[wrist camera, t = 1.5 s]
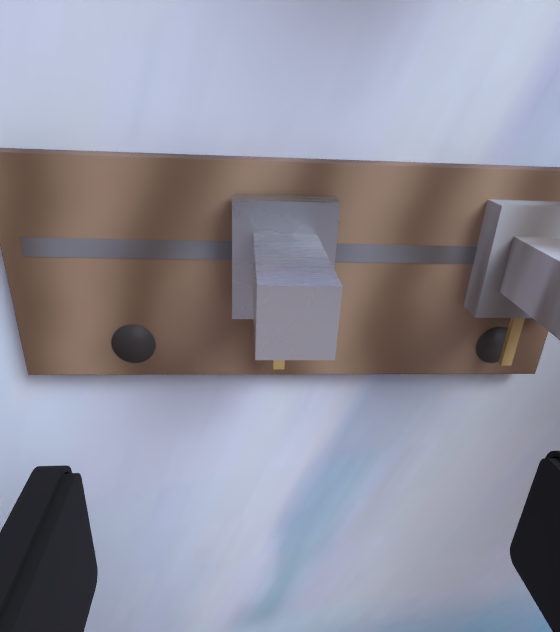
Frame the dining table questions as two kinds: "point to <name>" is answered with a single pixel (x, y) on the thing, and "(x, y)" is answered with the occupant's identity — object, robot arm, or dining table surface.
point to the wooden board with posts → (216, 262)
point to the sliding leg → (287, 274)
